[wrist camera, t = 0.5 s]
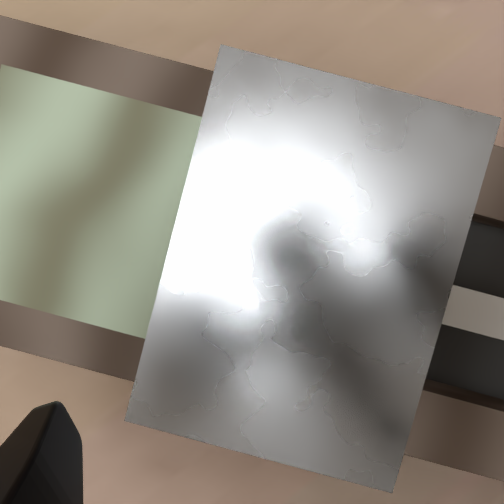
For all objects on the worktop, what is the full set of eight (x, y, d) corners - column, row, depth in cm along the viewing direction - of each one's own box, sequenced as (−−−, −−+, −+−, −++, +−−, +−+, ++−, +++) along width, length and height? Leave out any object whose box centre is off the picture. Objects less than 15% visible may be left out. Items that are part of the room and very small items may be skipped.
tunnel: (435, 149, 19) (501, 118, 14) (357, 423, 19) (392, 493, 14) (231, 95, 19) (220, 44, 14) (160, 370, 20) (124, 420, 14)
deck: (742, 227, 21) (807, 227, 19) (654, 500, 22) (705, 535, 19) (-18, 27, 22) (-55, 0, 19) (-81, 303, 22) (-125, 312, 20)
